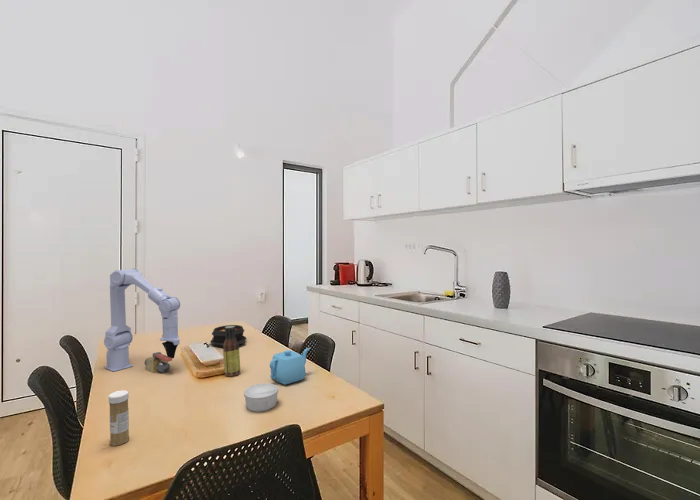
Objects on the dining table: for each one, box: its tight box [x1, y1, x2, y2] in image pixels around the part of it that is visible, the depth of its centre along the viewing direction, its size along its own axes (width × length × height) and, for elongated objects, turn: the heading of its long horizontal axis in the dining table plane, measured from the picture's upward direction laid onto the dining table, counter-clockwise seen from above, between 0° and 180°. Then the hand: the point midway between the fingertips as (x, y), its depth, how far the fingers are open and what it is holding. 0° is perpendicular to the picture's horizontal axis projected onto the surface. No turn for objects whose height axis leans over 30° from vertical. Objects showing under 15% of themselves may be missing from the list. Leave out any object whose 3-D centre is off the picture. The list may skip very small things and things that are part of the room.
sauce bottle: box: [222, 325, 241, 377], centre depth 144 cm, size 6×6×20 cm
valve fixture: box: [144, 356, 171, 374], centre depth 152 cm, size 14×6×6 cm, turn 55°
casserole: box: [209, 324, 247, 347], centre depth 191 cm, size 25×19×8 cm
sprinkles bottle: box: [108, 390, 130, 447], centre depth 96 cm, size 5×5×13 cm
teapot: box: [269, 347, 311, 385], centre depth 139 cm, size 12×18×12 cm
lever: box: [152, 351, 173, 362], centre depth 148 cm, size 3×14×1 cm, turn 52°
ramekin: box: [243, 382, 279, 413], centre depth 116 cm, size 11×11×5 cm
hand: (171, 358), depth 148 cm, fingers closed, pressing on lever
